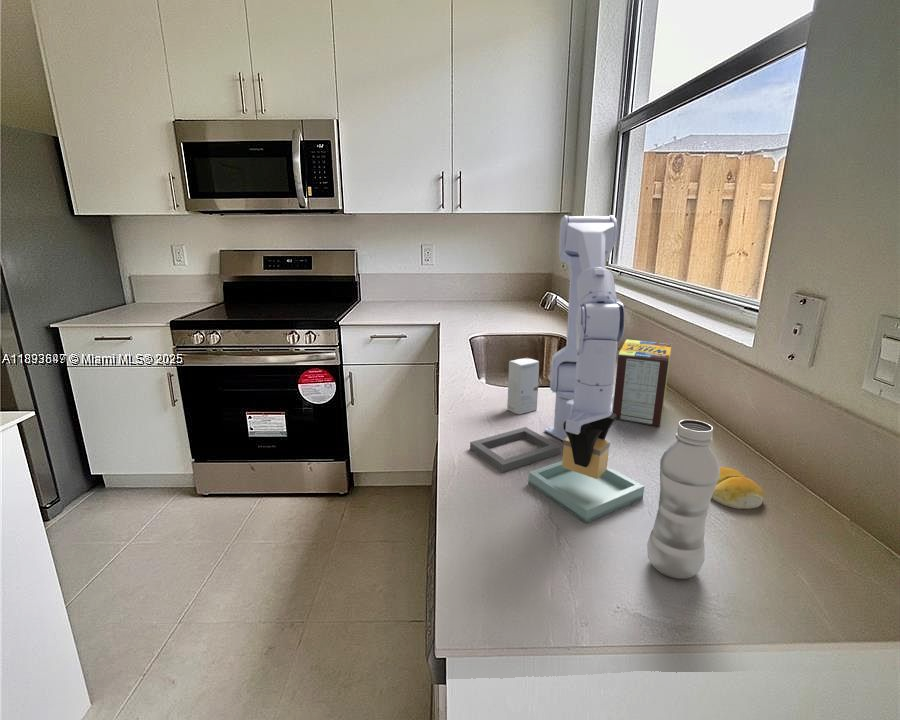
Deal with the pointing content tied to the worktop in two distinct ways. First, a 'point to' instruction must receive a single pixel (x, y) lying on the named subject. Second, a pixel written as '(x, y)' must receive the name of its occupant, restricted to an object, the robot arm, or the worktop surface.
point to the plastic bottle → (684, 501)
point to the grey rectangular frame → (520, 460)
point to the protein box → (641, 381)
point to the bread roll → (737, 490)
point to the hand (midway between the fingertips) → (587, 459)
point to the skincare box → (523, 385)
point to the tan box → (596, 463)
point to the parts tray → (586, 490)
